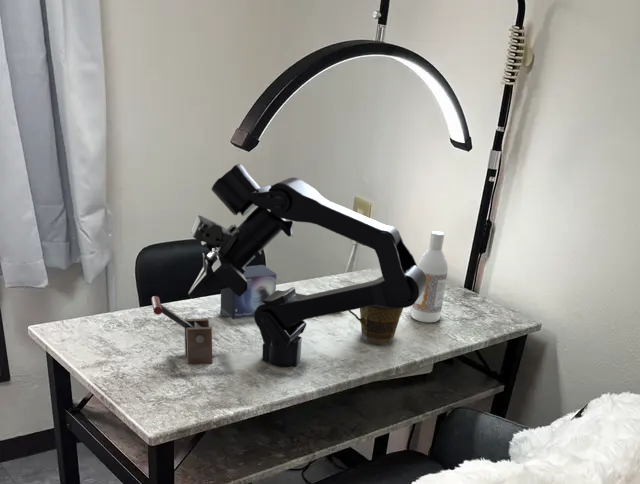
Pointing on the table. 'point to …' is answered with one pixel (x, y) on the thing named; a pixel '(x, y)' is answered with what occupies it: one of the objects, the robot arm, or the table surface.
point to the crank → (170, 313)
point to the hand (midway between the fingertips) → (190, 296)
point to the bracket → (198, 342)
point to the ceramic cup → (378, 323)
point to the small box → (249, 293)
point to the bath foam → (432, 281)
